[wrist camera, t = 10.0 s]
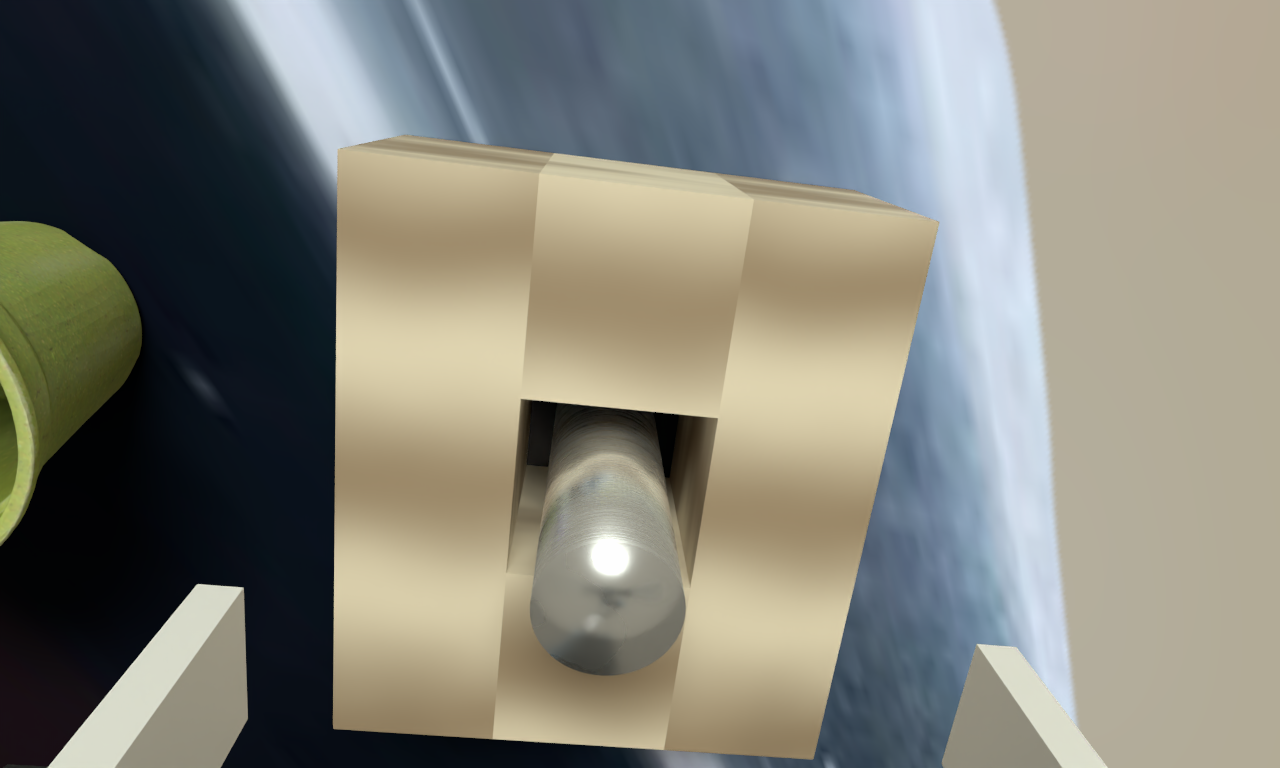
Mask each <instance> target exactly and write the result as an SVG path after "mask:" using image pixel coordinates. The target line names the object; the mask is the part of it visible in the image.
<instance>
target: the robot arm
mask: <svg viewBox="0 0 1280 768" xmlns="http://www.w3.org/2000/svg"><path fill="white" fill-rule="evenodd" d="M247 719H248V711H247V679H246V648H245V616H244V588H241V587H228V586H216V585H203V584H197V585H196V586H195V588H194V589H193V590H192V591H191V592H190V594H189V595H188V596H187V597H186V599H185V600H184V601H183V602H182V603H181V605H180V606H179V607H178V608H177V610H176V611H175V612H174V613H173V614H172V616H171V617H170V618H169V619H168V621H167V622H166V623H165V624H164V626H163V627H162V628H161V629H160V630H159V632H158V633H157V634H156V635H155V637H154V638H153V639H152V640H151V641H150V643H149V644H148V645H147V646H146V648H145V649H144V650H143V651H142V652H141V654H140V655H139V656H138V657H137V659H136V660H135V661H134V662H133V664H132V665H131V666H130V667H129V668H128V670H127V671H126V672H125V673H124V675H123V676H122V677H121V678H120V679H119V681H118V682H117V683H116V684H115V686H114V687H113V688H112V689H111V690H110V692H109V693H108V694H107V695H106V697H105V698H104V699H103V700H102V702H101V703H100V704H99V705H98V706H97V708H96V709H95V710H94V711H93V713H92V714H91V715H90V716H89V717H88V719H87V720H86V721H85V722H84V724H83V725H82V726H81V727H80V728H79V730H78V731H77V732H76V733H75V735H74V736H73V737H72V738H71V740H70V741H69V742H68V743H67V744H66V746H65V747H64V748H63V749H62V751H61V752H60V753H59V754H58V755H57V757H56V758H55V759H54V760H53V762H52V763H51V764H50V765H49V767H43V766H26V765H9V764H8V765H6V766H5V767H3V768H220V767H221V766H222V764H223V762H224V760H225V758H226V757H227V755H228V753H229V751H230V749H231V748H232V746H233V744H234V742H235V741H236V739H237V737H238V735H239V733H240V732H241V730H242V728H243V726H244V724H245V723H246V721H247ZM942 765H943V767H944V768H1108V767H1107V766H1106V765H1105V763H1104V762H1103V761H1102V759H1101V758H1100V757H1099V756H1098V754H1097V753H1096V752H1095V750H1094V749H1093V748H1092V746H1091V745H1090V744H1089V742H1088V741H1087V740H1086V739H1085V737H1084V736H1083V734H1082V733H1081V732H1080V730H1079V729H1078V728H1077V727H1076V725H1075V724H1074V723H1073V721H1072V720H1071V719H1070V717H1069V716H1068V715H1067V713H1066V712H1065V711H1064V709H1063V708H1062V707H1061V705H1060V704H1059V703H1058V701H1057V700H1056V699H1055V698H1054V696H1053V695H1052V694H1051V692H1050V691H1049V690H1048V688H1047V687H1046V686H1045V684H1044V683H1043V682H1042V680H1041V679H1040V678H1039V676H1038V675H1037V674H1036V672H1035V671H1034V670H1033V669H1032V667H1031V666H1030V665H1029V663H1028V662H1027V661H1026V659H1025V658H1024V657H1023V655H1022V654H1021V653H1020V651H1019V650H1018V649H1017V647H1007V646H994V645H981V644H977V645H976V648H975V652H974V655H973V659H972V662H971V665H970V669H969V672H968V676H967V679H966V682H965V686H964V689H963V692H962V696H961V699H960V703H959V706H958V709H957V713H956V716H955V719H954V723H953V726H952V730H951V733H950V736H949V740H948V743H947V746H946V750H945V753H944V757H943V760H942Z"/></svg>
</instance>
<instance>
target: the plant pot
mask: <svg viewBox="0 0 1280 768" xmlns="http://www.w3.org/2000/svg"><path fill="white" fill-rule="evenodd" d="M141 344H142V326H141V319H140V315H139V311H138V307H137V304H136V302H135V299H134V297H133V295H132V292H131V290H130V289H129V287H128V285H127V283H126V282H125V280H124V279H123V277H122V275H121V274H120V273H119V272H118V271H117V269H116V268H115V267H114V266H113V265H112V264H111V263H110V262H109V261H108V260H107V259H106V258H104V257H102V256H101V255H99V254H97V253H96V252H94V251H93V250H91V249H90V248H88V247H87V246H85V245H84V244H82V243H81V242H79V241H78V240H76V239H74V238H73V237H71V236H70V235H69V234H67V233H66V232H64V231H63V230H60V229H58V228H55V227H52V226H48V225H45V224H40V223H34V222H24V221H9V222H0V546H1V545H2V544H3V543H4V542H5V541H6V540H7V538H8V537H9V536H10V535H11V533H12V532H13V531H14V529H15V528H16V527H17V525H18V524H19V523H20V521H21V519H22V517H23V516H24V514H25V512H26V510H27V508H28V505H29V503H30V500H31V497H32V495H33V492H34V489H35V485H36V482H37V478H38V475H39V473H40V471H41V469H42V466H43V465H44V464H45V463H46V462H47V461H48V460H49V459H50V458H51V457H52V456H53V455H54V454H55V453H56V452H57V451H58V450H59V449H60V447H61V446H62V445H63V444H64V443H65V442H66V441H67V440H68V439H69V438H70V437H71V436H72V435H73V434H74V433H75V432H76V431H77V430H78V429H79V428H80V427H81V426H82V425H83V424H84V423H85V422H86V421H87V420H88V419H89V418H90V417H91V416H92V415H93V414H94V413H95V412H96V411H97V410H98V409H99V408H100V407H101V406H102V405H103V404H104V403H105V402H106V401H107V400H108V399H109V398H110V397H111V396H112V395H113V394H114V393H115V392H116V391H117V390H119V389H120V387H121V386H122V385H123V384H124V382H125V381H126V379H127V378H128V376H129V374H130V373H131V371H132V369H133V367H134V365H135V363H136V361H137V359H138V357H139V355H140V350H141Z"/></svg>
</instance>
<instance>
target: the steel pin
mask: <svg viewBox="0 0 1280 768" xmlns="http://www.w3.org/2000/svg"><path fill="white" fill-rule="evenodd" d="M685 613H686V603H685V595H684V589H683V583H682V577H681V571H680V565H679V559H678V553H677V547H676V541H675V535H674V530H673V524H672V518H671V512H670V506H669V500H668V494H667V488H666V482H665V476H664V470H663V464H662V458H661V452H660V446H659V440H658V435H657V429H656V423H655V417H654V412H650V411H639V410H629V409H619V408H609V407H599V406H589V405H578V404H568V403H558V402H557V407H556V415H555V422H554V430H553V437H552V445H551V452H550V459H549V467H548V474H547V482H546V489H545V497H544V504H543V512H542V519H541V527H540V534H539V541H538V549H537V556H536V564H535V571H534V579H533V586H532V594H531V601H530V619H531V624H532V627H533V631H534V633H535V635H536V637H537V639H538V641H539V642H540V644H541V645H542V647H543V648H544V649H545V650H546V651H547V652H548V653H549V654H550V655H551V656H552V657H553V658H554V659H556V660H557V661H559V662H560V663H562V664H563V665H565V666H567V667H569V668H571V669H574V670H576V671H579V672H582V673H587V674H591V675H600V676H613V675H621V674H626V673H631V672H634V671H637V670H640V669H642V668H644V667H646V666H648V665H650V664H651V663H653V662H655V661H656V660H658V659H659V658H660V657H661V656H663V655H664V654H665V653H666V652H667V651H668V650H669V649H670V648H671V646H672V645H673V644H674V642H675V641H676V640H677V638H678V636H679V634H680V632H681V630H682V627H683V624H684V620H685Z"/></svg>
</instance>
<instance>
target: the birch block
mask: <svg viewBox="0 0 1280 768" xmlns="http://www.w3.org/2000/svg"><path fill="white" fill-rule="evenodd" d="M938 226H939V222H938V221H935V220H933V219H930V218H927V217H925V216H922V215H919V214H917V213H914V212H911V211H909V210H906V209H903V208H901V207H898V206H895V205H892V204H890V203H887V202H884V201H882V200H879V199H876V198H874V197H871V196H868V195H866V194H863V193H860V192H858V191H855V190H848V189H840V188H832V187H824V186H816V185H807V184H799V183H791V182H783V181H775V180H767V179H759V178H751V177H743V176H735V175H726V174H718V173H710V172H702V171H694V170H686V169H678V168H670V167H662V166H654V165H646V164H637V163H629V162H621V161H613V160H605V159H597V158H589V157H581V156H573V155H565V154H556V153H548V152H540V151H532V150H524V149H516V148H508V147H500V146H492V145H484V144H476V143H467V142H459V141H451V140H443V139H435V138H427V137H419V136H411V135H402V136H397V137H392V138H388V139H383V140H378V141H373V142H369V143H364V144H359V145H355V146H350V147H345V148H340V149H338V178H337V303H336V428H335V552H334V677H333V729H343V730H359V731H375V732H390V733H406V734H422V735H437V736H453V737H469V738H484V739H500V740H516V741H532V742H547V743H563V744H579V745H594V746H610V747H626V748H641V749H657V750H673V751H688V752H704V753H720V754H736V755H751V756H767V757H783V758H798V759H813V758H814V754H815V750H816V745H817V741H818V737H819V733H820V728H821V724H822V720H823V716H824V711H825V707H826V703H827V698H828V694H829V690H830V686H831V681H832V677H833V673H834V669H835V664H836V660H837V656H838V652H839V647H840V643H841V639H842V635H843V630H844V626H845V622H846V618H847V613H848V609H849V605H850V601H851V596H852V592H853V588H854V584H855V579H856V575H857V571H858V567H859V562H860V558H861V554H862V550H863V545H864V541H865V537H866V532H867V528H868V524H869V520H870V515H871V511H872V507H873V503H874V498H875V494H876V490H877V486H878V481H879V477H880V473H881V469H882V464H883V460H884V456H885V452H886V447H887V443H888V439H889V435H890V430H891V426H892V422H893V418H894V413H895V409H896V405H897V401H898V396H899V392H900V388H901V384H902V379H903V375H904V371H905V366H906V362H907V358H908V354H909V349H910V345H911V341H912V337H913V332H914V328H915V324H916V320H917V315H918V311H919V307H920V303H921V298H922V294H923V290H924V286H925V281H926V277H927V273H928V269H929V264H930V260H931V256H932V252H933V247H934V243H935V239H936V235H937V230H938ZM532 400H538V401H548V402H558V403H568V404H578V405H589V406H599V407H609V408H619V409H629V410H639V411H650V412H660V413H670V414H679V417H678V423H677V430H676V437H675V444H674V451H673V457H672V464H671V471H670V478H666V477H665V482H666V488H667V494H668V500H669V506H670V512H671V518H672V524H673V530H674V535H675V541H676V547H677V553H678V559H679V565H680V571H681V577H682V583H683V589H684V595H685V603H686V613H685V620H684V624H683V627H682V630H681V632H680V634H679V636H678V638H677V640H676V641H675V642H674V644H673V645H672V646H671V648H670V649H669V650H668V651H667V652H666V653H665V654H664V655H663V656H661V657H660V658H659V659H658V660H656V661H655V662H653V663H651V664H650V665H648V666H646V667H644V668H642V669H640V670H637V671H634V672H631V673H626V674H621V675H613V676H600V675H591V674H587V673H582V672H579V671H576V670H574V669H571V668H569V667H567V666H565V665H563V664H562V663H560V662H559V661H557V660H556V659H554V658H553V657H552V656H551V655H550V654H549V653H548V652H547V651H546V650H545V649H544V648H543V647H542V645H541V644H540V642H539V641H538V639H537V637H536V635H535V633H534V631H533V627H532V624H531V619H530V601H531V594H532V586H533V579H534V571H535V564H536V556H537V549H538V541H539V534H540V527H541V519H542V512H543V504H544V497H545V489H546V482H547V474H548V467H546V466H536V465H527V457H528V445H529V434H530V422H531V411H532Z"/></svg>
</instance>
